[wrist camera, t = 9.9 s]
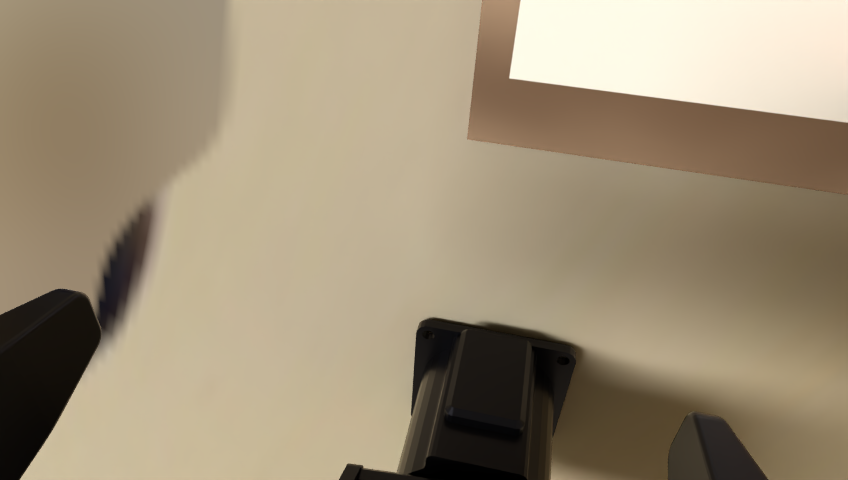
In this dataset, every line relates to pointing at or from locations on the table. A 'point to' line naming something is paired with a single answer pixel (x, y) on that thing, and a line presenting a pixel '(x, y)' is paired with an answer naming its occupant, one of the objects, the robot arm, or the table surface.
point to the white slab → (693, 51)
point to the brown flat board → (645, 123)
